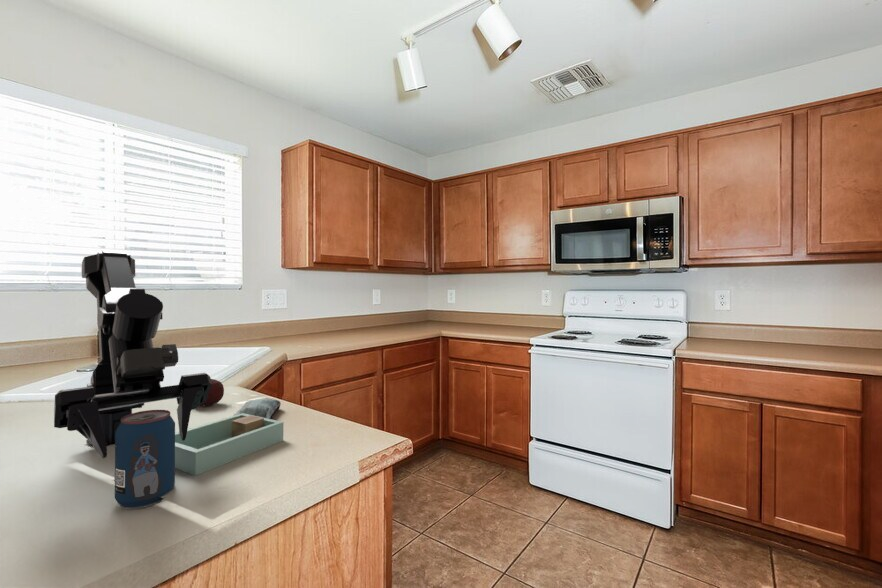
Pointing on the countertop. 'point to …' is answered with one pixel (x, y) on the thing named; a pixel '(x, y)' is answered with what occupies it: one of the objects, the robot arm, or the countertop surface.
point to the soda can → (144, 458)
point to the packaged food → (260, 408)
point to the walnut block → (246, 425)
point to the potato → (214, 393)
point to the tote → (222, 444)
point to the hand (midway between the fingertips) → (146, 447)
